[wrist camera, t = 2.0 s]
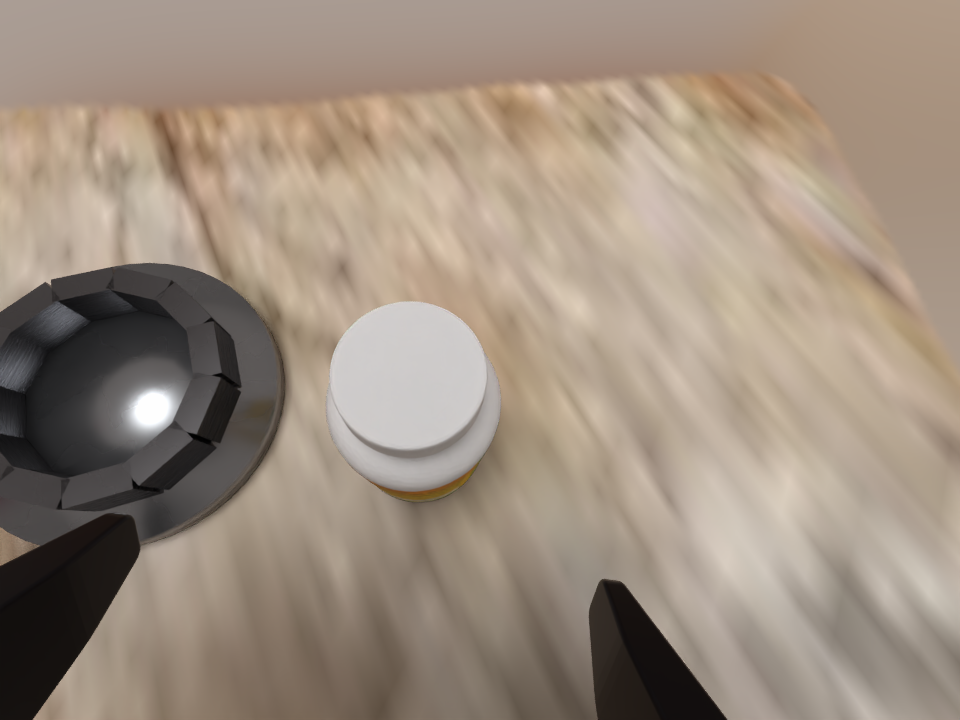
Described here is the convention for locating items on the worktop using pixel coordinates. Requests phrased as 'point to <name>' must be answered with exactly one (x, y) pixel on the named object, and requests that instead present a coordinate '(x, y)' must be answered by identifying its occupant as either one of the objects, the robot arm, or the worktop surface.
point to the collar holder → (131, 400)
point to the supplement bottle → (412, 400)
